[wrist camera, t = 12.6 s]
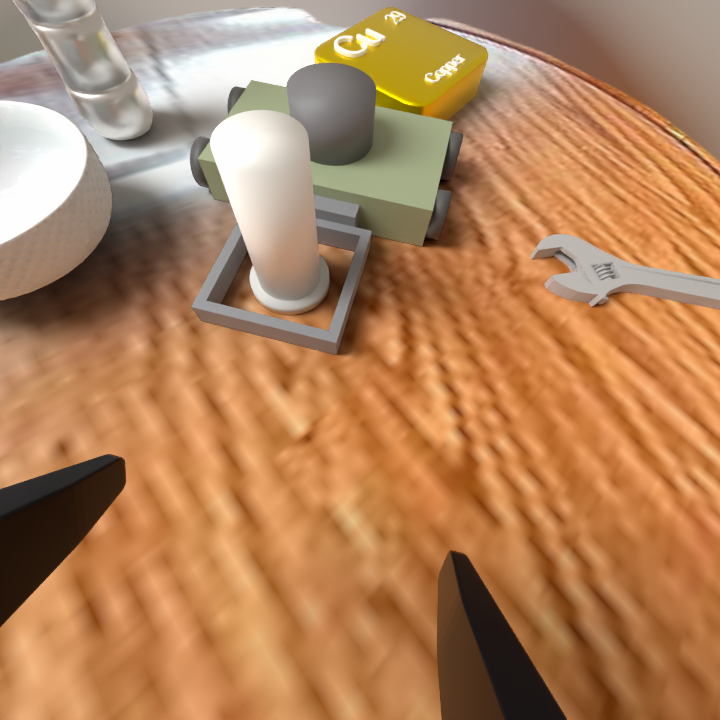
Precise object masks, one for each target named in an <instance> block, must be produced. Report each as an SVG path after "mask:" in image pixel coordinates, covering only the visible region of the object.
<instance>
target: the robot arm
mask: <svg viewBox="0 0 720 720" xmlns="http://www.w3.org/2000/svg"><path fill="white" fill-rule="evenodd" d="M125 483H126V469H125V460H124V459H123V458H122V457H119V456H115V455H111V454H107V455H103V456H100V457H97V458H94V459H91V460H88V461H85V462H82V463H79V464H76V465H73V466H70V467H67V468H64V469H60V470H57V471H54V472H51V473H48V474H45V475H42V476H39V477H36V478H33V479H30V480H27V481H24V482H21V483H18V484H15V485H12V486H9V487H5V488H2V489H0V627H1V626H2V625H3V624H4V623H5V622H6V621H7V620H8V619H9V618H10V616H11V615H12V614H13V613H14V612H15V611H16V610H17V609H18V608H19V607H20V606H21V605H22V604H23V603H24V602H25V601H26V600H27V598H28V597H29V596H30V595H31V594H32V593H33V592H34V591H35V590H36V589H37V588H38V587H39V586H40V585H41V584H42V583H43V582H44V581H45V579H46V578H47V577H48V576H49V575H50V574H51V573H52V572H53V571H54V570H55V569H56V568H57V567H58V566H59V565H60V564H61V563H62V562H63V560H64V559H65V558H66V557H67V556H68V555H69V554H70V553H71V552H72V551H73V550H74V549H75V548H76V547H77V545H78V544H79V543H80V542H81V541H82V540H83V539H84V537H85V536H86V535H87V534H88V533H89V531H90V530H91V529H92V528H93V526H94V525H95V524H96V523H97V521H98V520H99V519H100V518H101V516H102V515H103V514H104V513H105V511H106V510H107V509H108V508H109V506H110V505H111V504H112V503H113V501H114V500H115V499H116V498H117V496H118V495H119V494H120V493H121V491H122V490H123V488H124V486H125ZM437 661H438V675H439V689H440V702H441V716H442V720H567V718H566V716H565V715H564V713H563V712H562V710H561V708H560V707H559V705H558V703H557V702H556V700H555V699H554V697H553V695H552V694H551V692H550V690H549V689H548V687H547V685H546V684H545V682H544V681H543V679H542V677H541V676H540V674H539V672H538V671H537V669H536V668H535V666H534V664H533V663H532V661H531V659H530V658H529V656H528V654H527V653H526V651H525V650H524V648H523V646H522V645H521V643H520V641H519V640H518V638H517V637H516V635H515V633H514V632H513V630H512V628H511V627H510V625H509V624H508V622H507V620H506V619H505V617H504V615H503V614H502V612H501V610H500V609H499V607H498V606H497V604H496V602H495V601H494V599H493V597H492V596H491V594H490V593H489V591H488V589H487V588H486V586H485V584H484V583H483V581H482V579H481V578H480V576H479V575H478V573H477V571H476V570H475V568H474V566H473V565H472V563H471V562H470V560H469V558H468V557H467V556H466V555H465V554H464V553H460V552H457V551H453V550H451V551H449V552H448V554H447V556H446V558H445V561H444V563H443V565H442V568H441V570H440V573H439V579H438V617H437Z"/></svg>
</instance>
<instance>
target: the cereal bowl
mask: <svg viewBox="0 0 720 720" xmlns="http://www.w3.org/2000/svg"><path fill="white" fill-rule="evenodd" d="M111 210H112V194H111V187H110V182H109V180H108V177H107V173H106V171H105V170H104V167H103V164H102V163H101V161H100V160H99V157H98V155H97V154H96V152H95V151H94V149H93V147H92V145H91V144H90V143H89V142H88V140H87V138H86V136H85V135H84V134H83V133H82V132H81V131H80V129H79V128H78V127H77V126H76V125H75V124H74V123H72V122H71V121H70V120H69V119H67V118H66V117H64V116H63V115H61V114H59V113H57V112H55V111H53V110H50V109H48V108H45V107H42V106H38V105H34V104H29V103H22V102H12V101H0V300H6V299H9V298H15V297H18V296H20V295H24V294H28V293H30V292H33V291H35V290H37V289H40V288H42V287H44V286H47V285H48V284H50V283H52V282H54V281H55V280H58V279H59V278H61V277H63V276H64V275H66V274H68V273H69V272H70V271H71V270H73V269H74V268H75V267H77V266H78V265H79V264H80V263H82V262H84V260H85V259H86V258H87V257H88V256H89V255H90V254H91V253H92V251H93V250H94V249H96V246H97V245H98V243H99V242H100V241H101V240H102V238H103V235H104V234H105V232H106V229H107V227H108V225H109V221H110V217H111Z"/></svg>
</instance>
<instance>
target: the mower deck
mask: <svg viewBox="0 0 720 720" xmlns="http://www.w3.org/2000/svg"><path fill="white" fill-rule="evenodd" d="M376 92H377V89H376V85H375V83H374V81H373V80H372V78H371V77H370V76H369V75H367V74H366V73H365V72H363V71H361V70H360V69H357V68H355V67H352V66H349V65H345V64H339V63H319V64H313V65H309V66H306V67H304V68H302V69H300V70H298V71H296V72H295V73H294V74H293V75H292V76H291V77H290V78H289V80H288V82H287V87H282V86H277V85H272V84H267V83H262V82H258V81H253V80H251V82H250V83H249V85H248V86H247V88H241V87H234V88H232V90H231V92H230V94H229V98H228V115H227V117H226V118H225V119H227V118H229V117H231V116H233V115H236V114H239V113H242V112H246V111H252V110H270V111H277V112H281V113H284V114H287V115H289V116H291V117H293V118H295V119H296V120H298V121H299V122H300V123H301V124H302V125H303V126H304V128H305V129H306V131H307V134H308V138H309V149H310V160H311V171H312V182H313V194H314V205H315V216H316V227H317V238H318V243H321V244H325V245H329V246H334V247H338V248H342V249H346V250H351V251H355V254H354V257H353V260H352V263H351V266H350V269H349V272H348V275H347V277H346V280H345V283H344V286H343V289H342V292H341V295H340V298H339V301H338V304H337V307H336V310H335V313H334V316H333V319H332V322H331V325H330V328H329V331H327V330H323V329H319V328H315V327H311V326H307V325H303V324H299V323H295V322H290V321H286V320H282V319H278V318H274V317H270V316H266V315H262V314H258V313H254V312H250V311H246V310H242V309H238V308H234V307H230V306H226V305H222V304H221V303H222V301H223V299H224V297H225V295H226V293H227V291H228V289H229V287H230V285H231V283H232V281H233V279H234V277H235V275H236V273H237V271H238V269H239V267H240V265H241V263H242V261H243V259H244V257H245V255H246V253H247V251H248V250H247V247H246V245H245V242H244V239H243V236H242V233H241V231H240V228H239V225H238V222H237V224H236V226H235V228H234V229H233V231H232V233H231V235H230V237H229V239H228V240H227V242H226V244H225V246H224V248H223V249H222V251H221V253H220V255H219V257H218V259H217V260H216V262H215V264H214V266H213V268H212V270H211V271H210V273H209V275H208V277H207V279H206V280H205V282H204V284H203V286H202V288H201V290H200V291H199V293H198V295H197V297H196V299H195V301H194V302H193V304H192V306H191V308H192V309H193V310H194V312H195V313H196V314H197V316H198V317H199V318H200V320H201V321H204V322H208V323H212V324H216V325H220V326H224V327H227V328H231V329H235V330H239V331H243V332H247V333H251V334H255V335H259V336H263V337H267V338H271V339H275V340H279V341H283V342H287V343H291V344H295V345H299V346H303V347H307V348H311V349H315V350H319V351H323V352H327V353H331V354H335V355H337V352H338V349H339V346H340V343H341V340H342V336H343V333H344V330H345V327H346V323H347V320H348V317H349V314H350V311H351V307H352V304H353V301H354V298H355V295H356V291H357V288H358V285H359V282H360V279H361V275H362V272H363V269H364V266H365V263H366V259H367V256H368V253H369V250H370V244H371V235H374V236H378V237H382V238H387V239H391V240H395V241H400V242H404V243H408V244H413V245H417V246H422V245H423V242H424V238H425V237H426V238H431V239H435V240H438V239H439V237H440V234H441V231H442V228H443V225H444V222H445V219H446V215H447V211H448V208H449V204H450V199H451V194H452V191H447V190H443V189H438V186H439V181H440V179H443V180H447V181H450V180H451V177H452V174H453V171H454V168H455V165H456V162H457V158H458V155H459V151H460V147H461V143H462V139H463V134H462V133H457V132H452V131H451V128H452V123H453V122H451V121H446V120H442V119H437V118H432V117H427V116H422V115H417V114H413V113H408V112H403V111H398V110H393V109H388V108H383V107H379V106H375V105H376ZM190 165H191V170H192V174H193V177H194V179H195V181H196V182H197V183H198V184H199V185H200V186H202V187H206V188H210V190H211V192H212V195H213V197H214V199H216V200H221V201H225V202H229V203H230V200H229V197H228V195H227V192H226V189H225V186H224V184H223V181H222V178H221V175H220V173H219V170H218V167H217V164H216V162H215V159H214V156H213V153H212V150H211V147H210V139H209V138H205V137H199V138H197V139H196V140H195V141H194V143H193V145H192V148H191V153H190Z"/></svg>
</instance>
